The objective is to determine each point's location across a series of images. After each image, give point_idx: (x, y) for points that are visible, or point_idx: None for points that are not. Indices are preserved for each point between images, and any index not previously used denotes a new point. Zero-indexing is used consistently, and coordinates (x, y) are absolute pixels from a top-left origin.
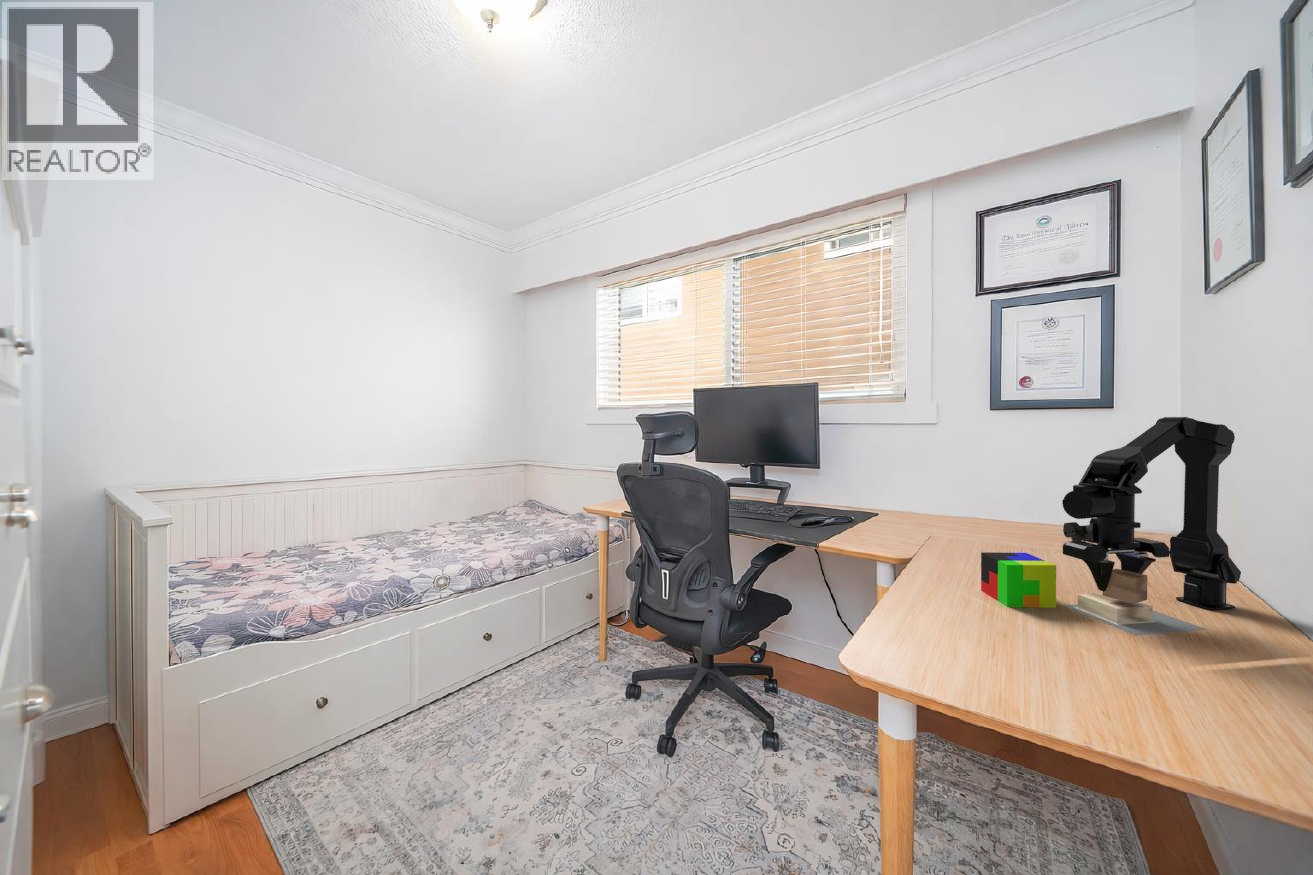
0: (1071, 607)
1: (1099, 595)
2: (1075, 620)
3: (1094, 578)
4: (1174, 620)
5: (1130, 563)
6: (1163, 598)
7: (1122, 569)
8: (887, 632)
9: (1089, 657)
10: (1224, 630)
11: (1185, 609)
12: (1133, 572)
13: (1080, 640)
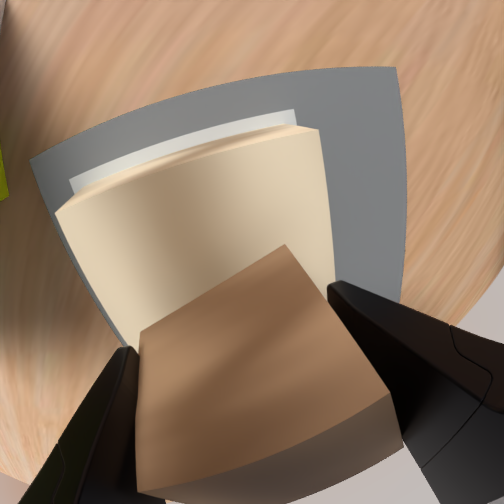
0: (60, 181)
1: (184, 208)
2: (44, 294)
3: (80, 415)
4: (384, 267)
5: (456, 461)
6: (494, 62)
7: (426, 375)
8: None
9: (48, 438)
10: (435, 284)
11: (485, 143)
12: (393, 437)
13: (39, 400)
